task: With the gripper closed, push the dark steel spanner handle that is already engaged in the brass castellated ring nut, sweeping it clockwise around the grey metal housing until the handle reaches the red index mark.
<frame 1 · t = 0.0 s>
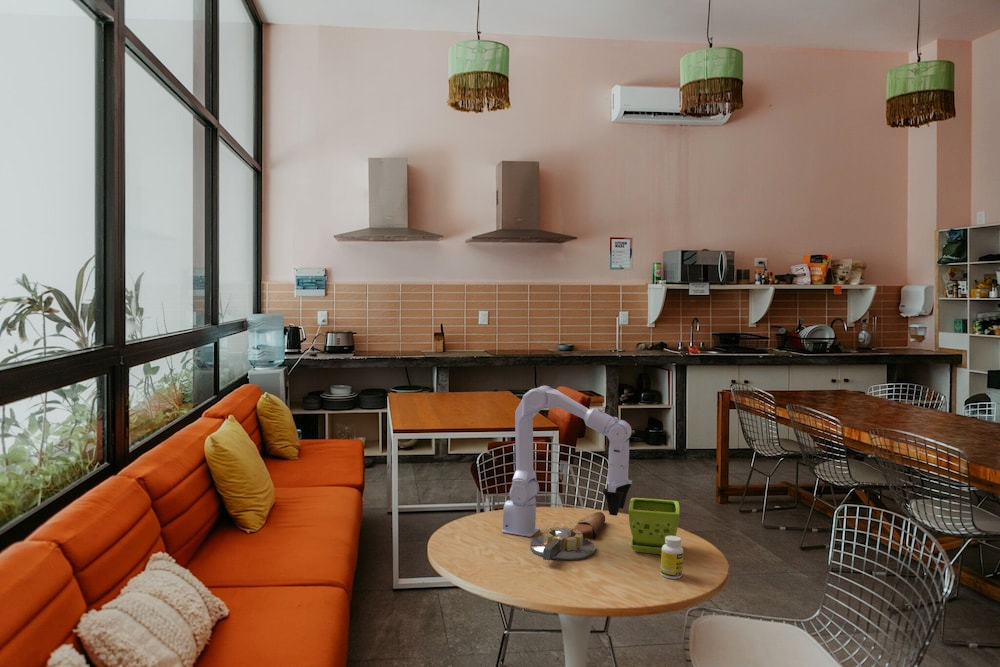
hand: (616, 511, 206), 10 cm above the table, fingers open, 7 cm apart
supplement bottle: (671, 576, 186), on the table
sunglasses case: (587, 531, 221), on the table
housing: (562, 549, 203), on the table
flower pot: (652, 549, 206), on the table
ring nut: (557, 543, 199), point 3 cm above the table, hinge at 0.0°
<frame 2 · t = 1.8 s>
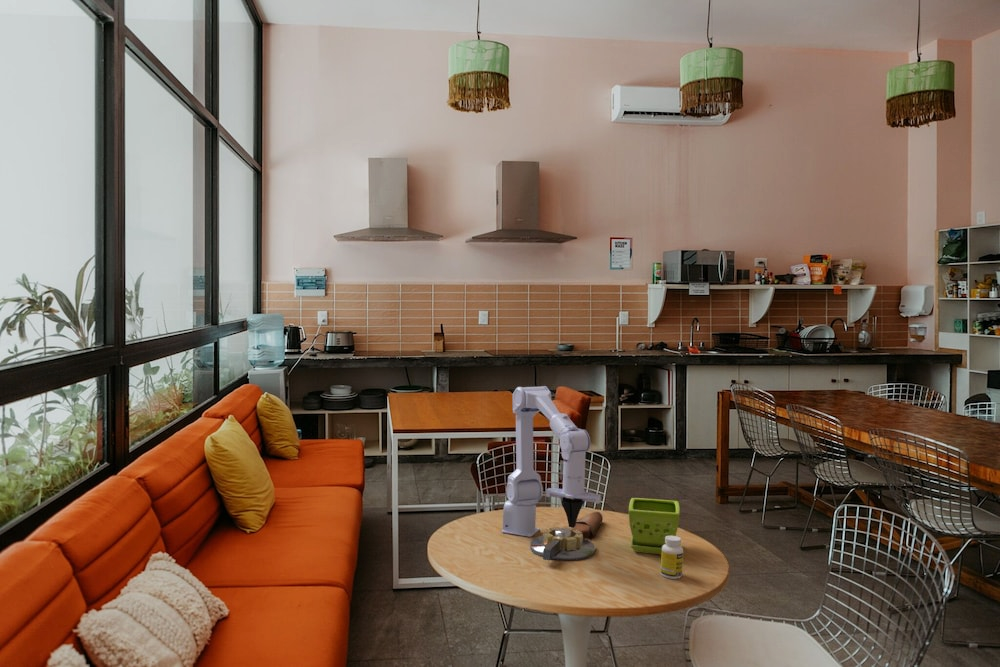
hand: (572, 526, 193), 10 cm above the table, fingers closed
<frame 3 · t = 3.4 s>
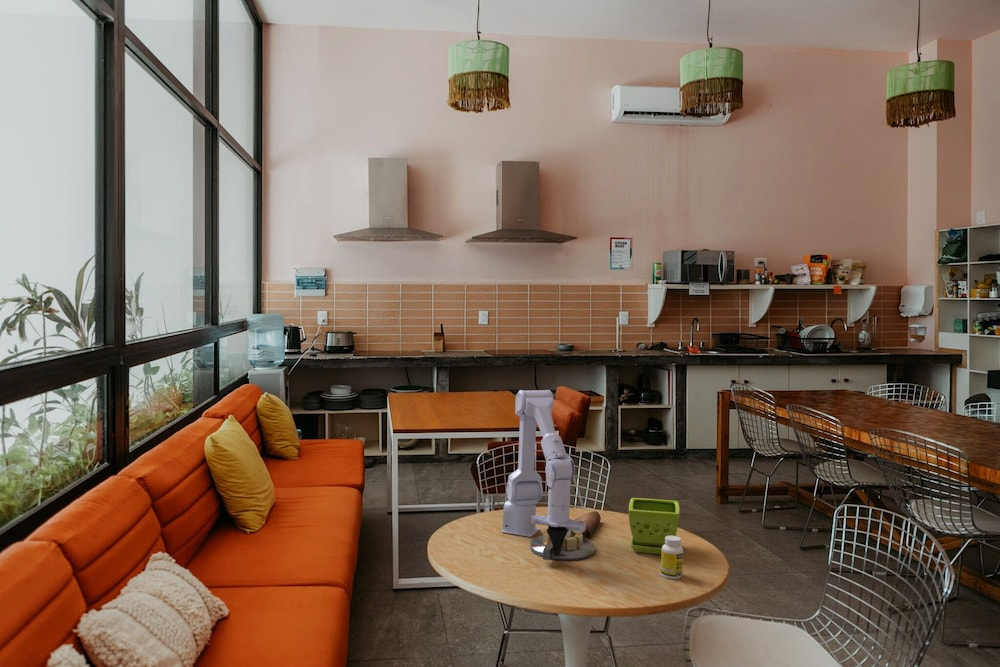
hand: (557, 554, 192), 2 cm above the table, fingers closed
ring nut: (557, 543, 199), point 3 cm above the table, hinge at -0.2°, touching gripper
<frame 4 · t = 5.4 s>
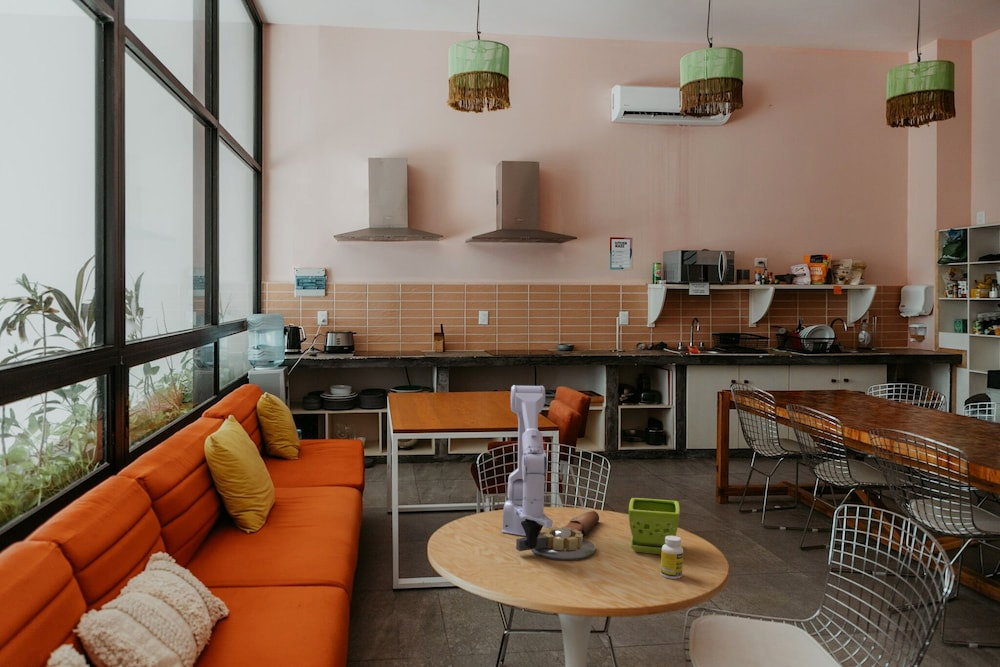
hand: (531, 547, 196), 3 cm above the table, fingers closed
ring nut: (549, 540, 201), point 3 cm above the table, hinge at -40.7°, touching gripper
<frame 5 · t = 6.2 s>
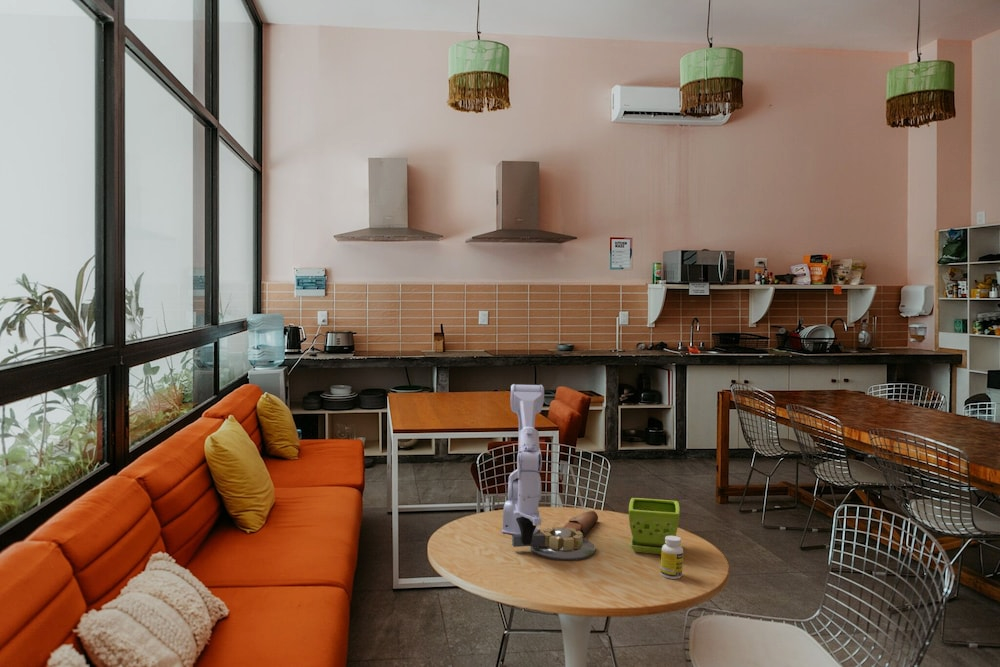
hand: (526, 543, 199), 3 cm above the table, fingers closed
ring nut: (547, 539, 202), point 3 cm above the table, hinge at -55.5°, touching gripper
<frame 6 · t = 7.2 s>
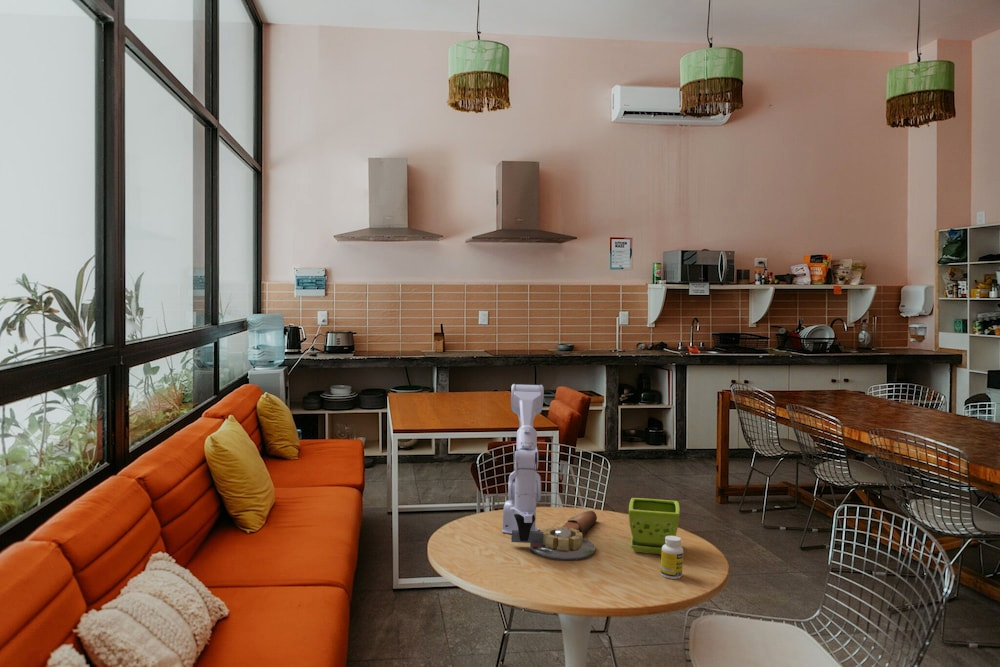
hand: (523, 540, 202), 3 cm above the table, fingers closed
ring nut: (546, 537, 203), point 3 cm above the table, hinge at -71.0°, touching gripper
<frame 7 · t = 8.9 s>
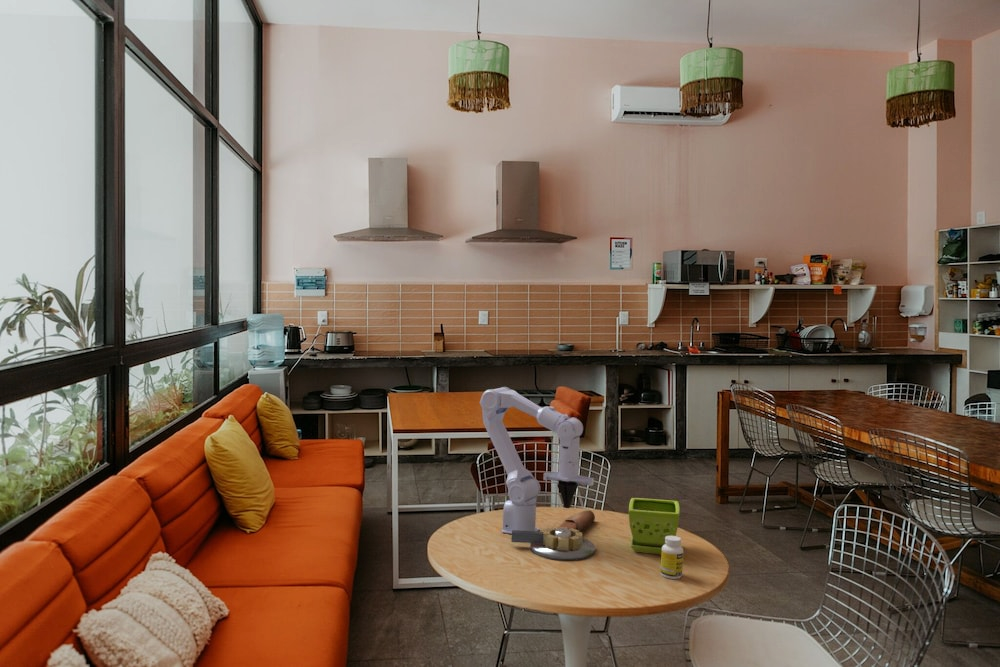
hand: (567, 507, 209), 10 cm above the table, fingers closed
ring nut: (546, 537, 203), point 3 cm above the table, hinge at -71.1°
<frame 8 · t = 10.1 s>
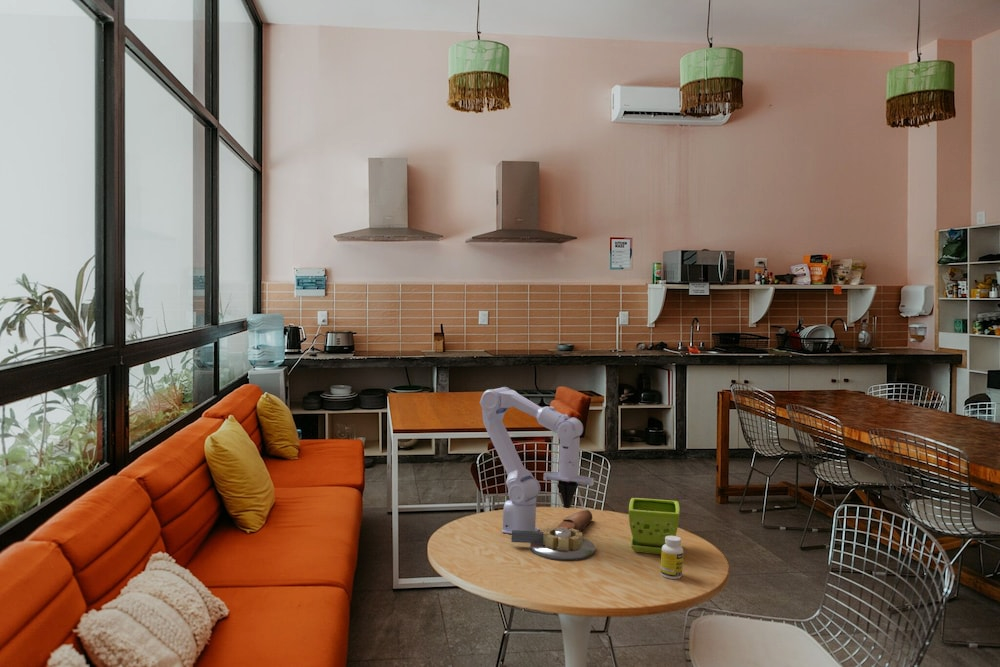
hand: (567, 507, 209), 10 cm above the table, fingers closed
at the end: ring nut at -71° (first picture: +0°) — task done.
